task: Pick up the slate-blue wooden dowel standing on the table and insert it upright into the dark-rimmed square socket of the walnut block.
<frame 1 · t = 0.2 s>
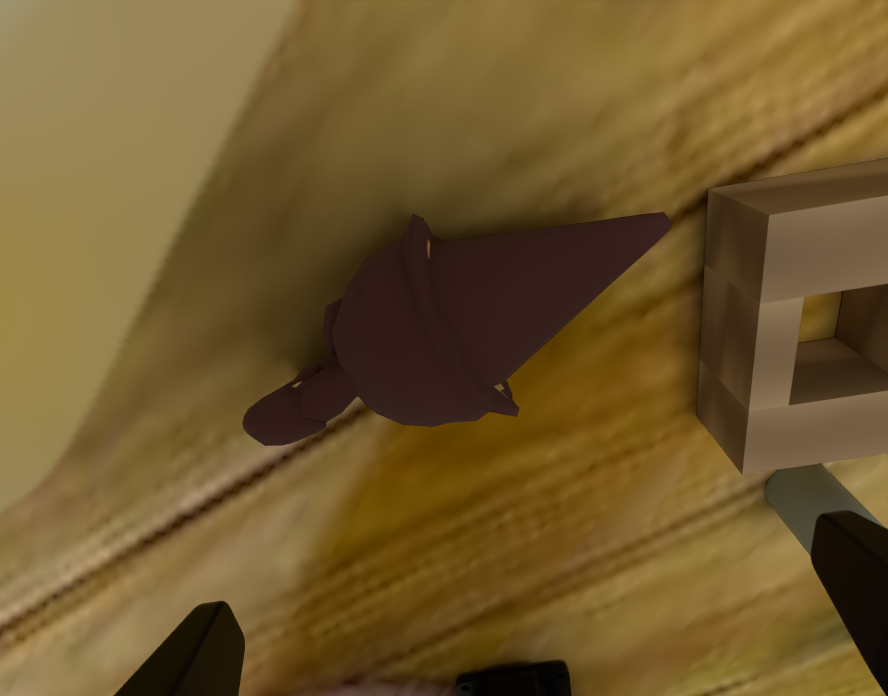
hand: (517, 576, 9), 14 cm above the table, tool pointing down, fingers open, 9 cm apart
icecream: (444, 286, 22), on the table
socket block: (879, 285, 22), on the table
dowel: (796, 485, 27), on the table
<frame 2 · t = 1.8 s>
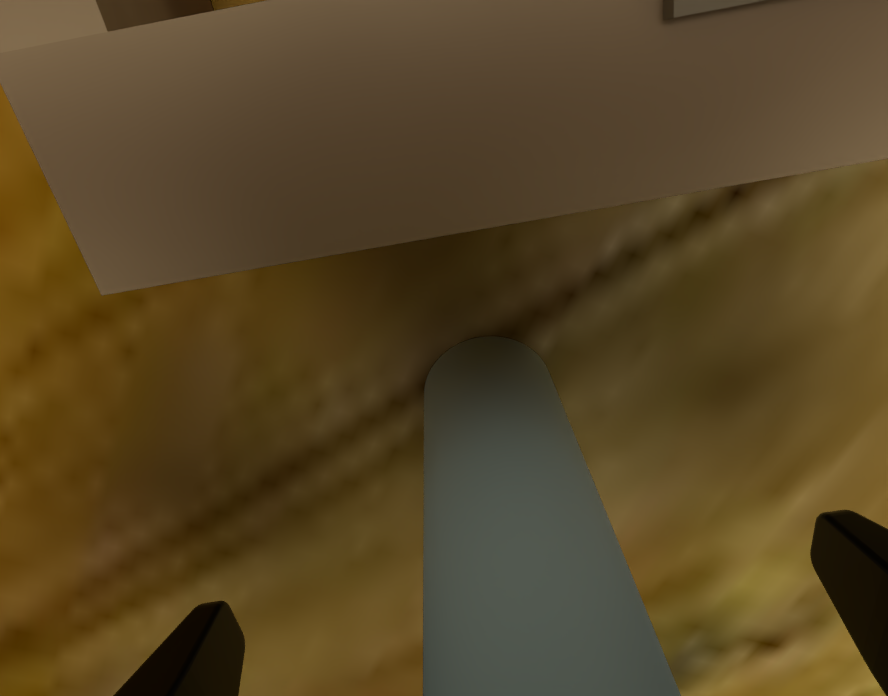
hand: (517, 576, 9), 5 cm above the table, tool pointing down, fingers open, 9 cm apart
dowel: (487, 394, 13), on the table
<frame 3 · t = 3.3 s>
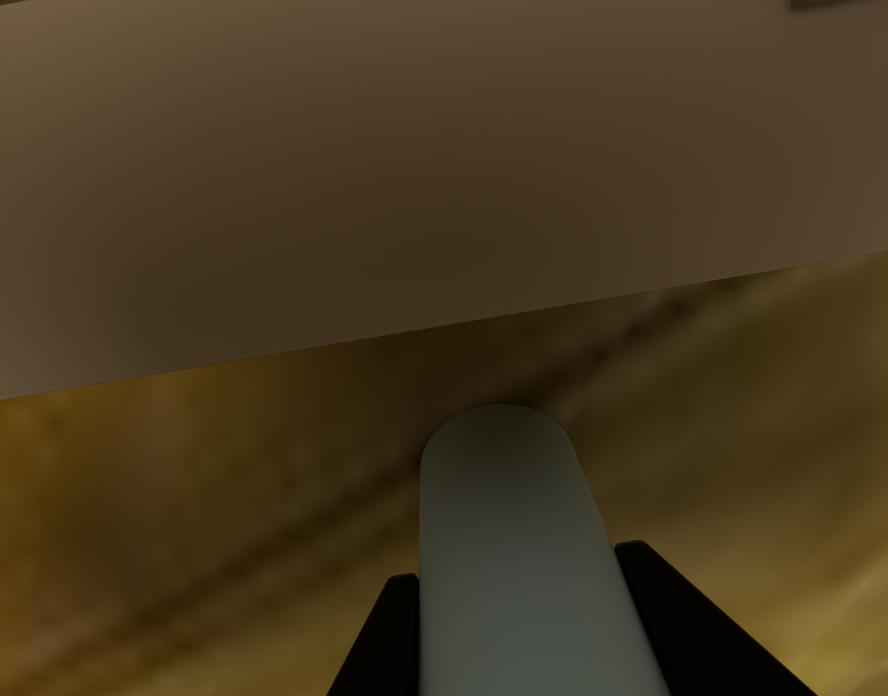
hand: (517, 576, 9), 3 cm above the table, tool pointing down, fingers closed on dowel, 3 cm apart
dowel: (497, 469, 11), on the table, touching gripper
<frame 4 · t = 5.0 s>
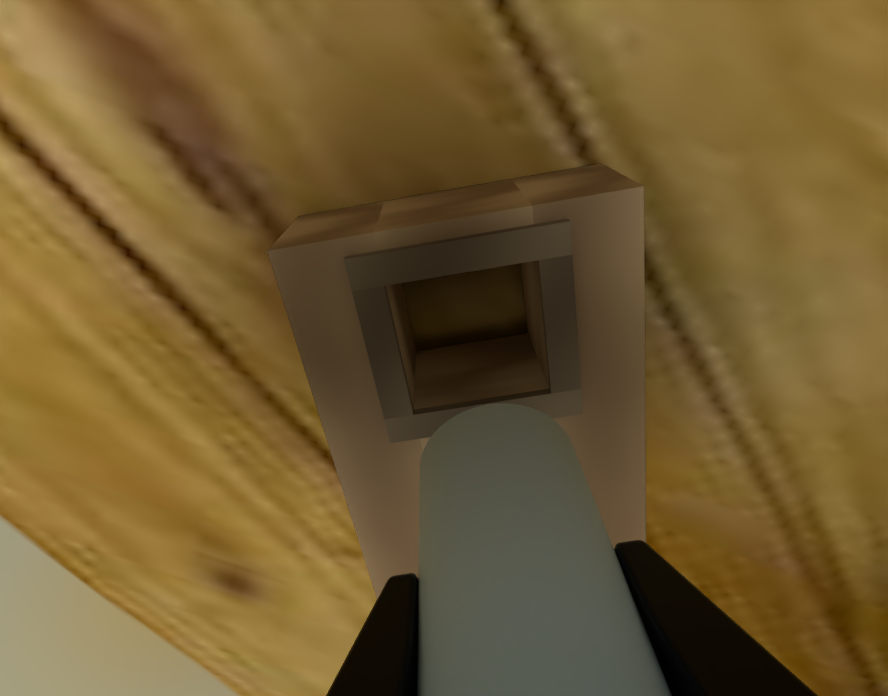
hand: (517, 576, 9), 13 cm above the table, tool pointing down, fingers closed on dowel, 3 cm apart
socket block: (477, 375, 21), on the table
dowel: (497, 469, 11), point 10 cm above the table, touching gripper
when the fingers open (4 cm above the table, at t = 6.8 s): dowel drops 2 cm, resting in socket block.
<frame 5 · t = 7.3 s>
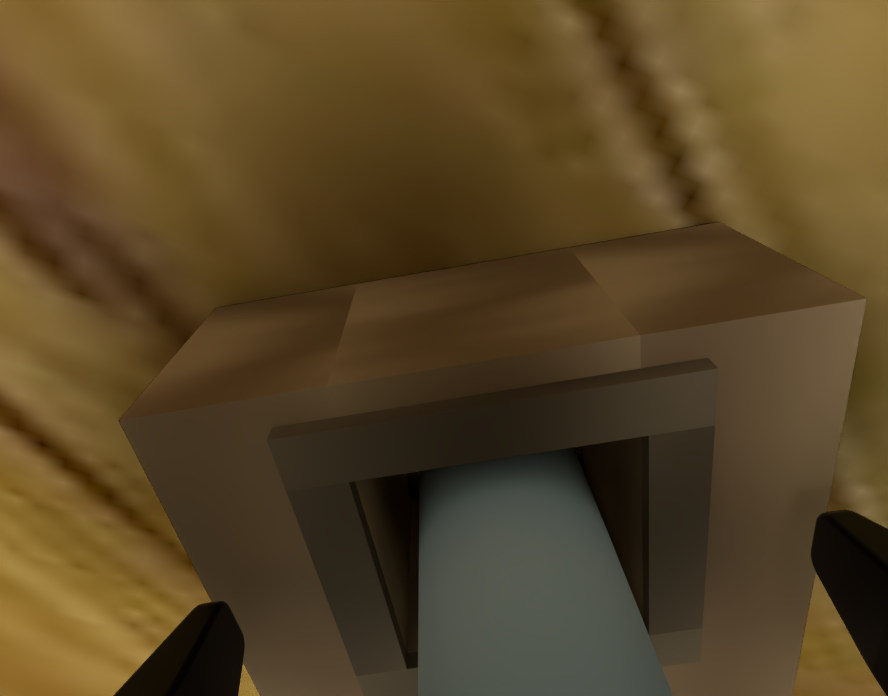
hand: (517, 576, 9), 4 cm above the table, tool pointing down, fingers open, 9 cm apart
socket block: (504, 528, 14), on the table
dowel: (486, 411, 13), resting in socket block
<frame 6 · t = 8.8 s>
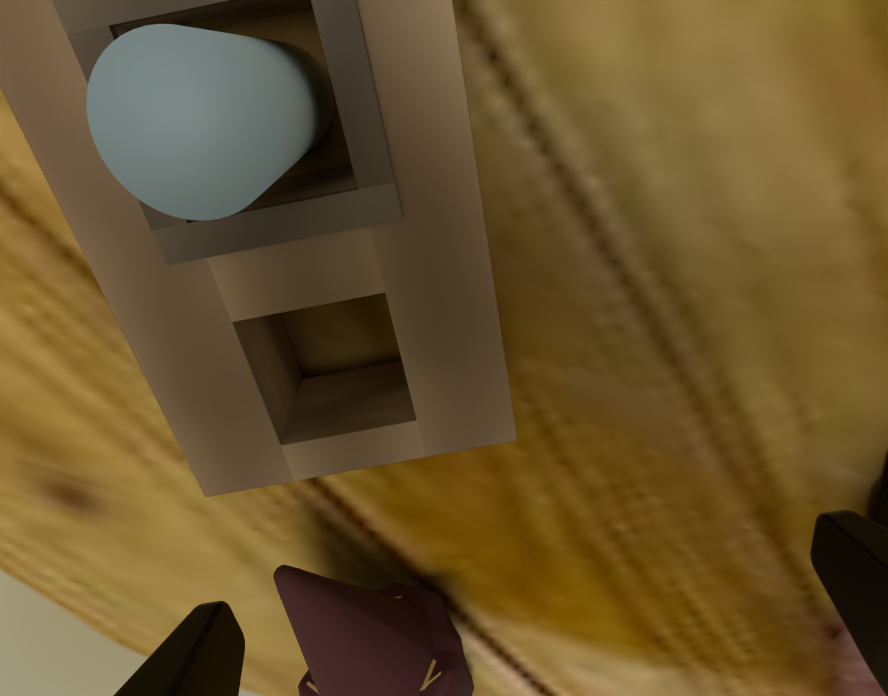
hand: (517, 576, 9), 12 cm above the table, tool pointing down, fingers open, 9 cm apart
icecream: (387, 598, 26), on the table
socket block: (315, 218, 18), on the table
dowel: (281, 99, 16), resting in socket block
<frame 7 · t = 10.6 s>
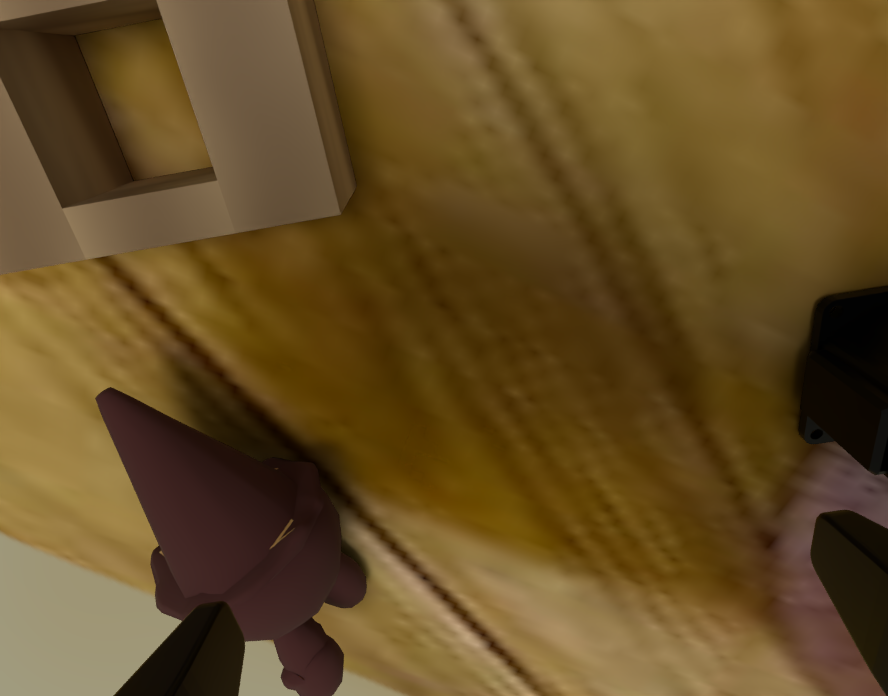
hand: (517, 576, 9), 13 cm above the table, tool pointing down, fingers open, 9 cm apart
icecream: (268, 478, 24), on the table
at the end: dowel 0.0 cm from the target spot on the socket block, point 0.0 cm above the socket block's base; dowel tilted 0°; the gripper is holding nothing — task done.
